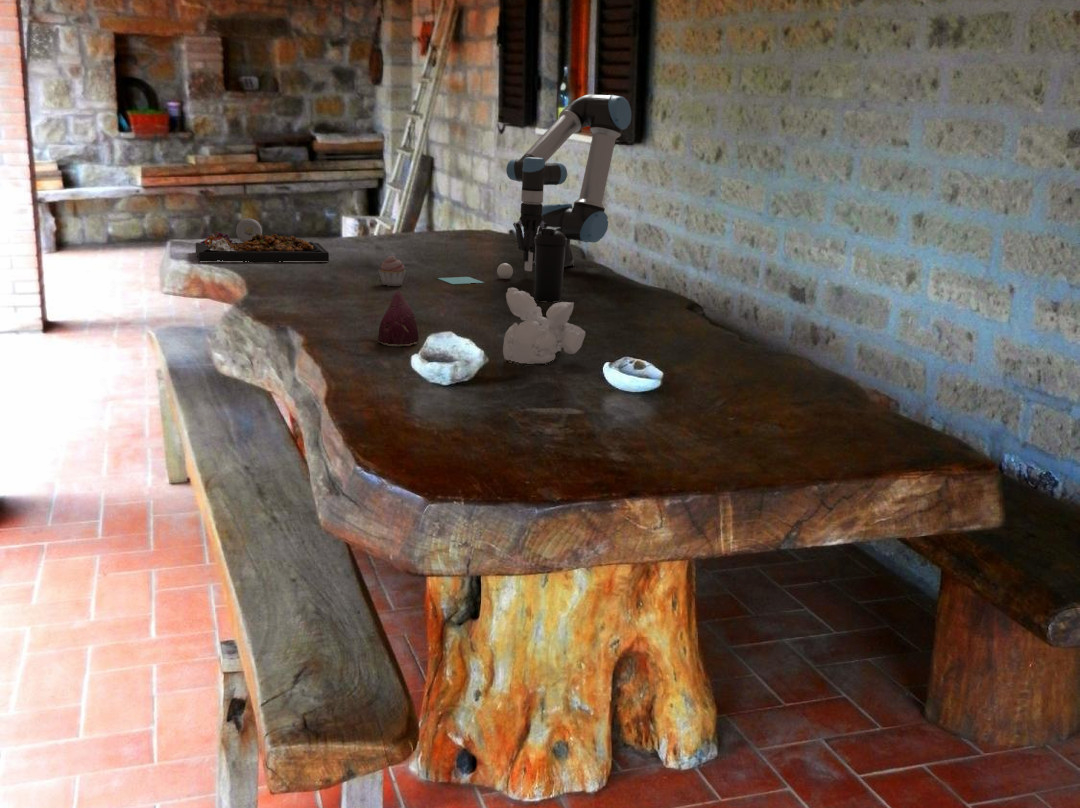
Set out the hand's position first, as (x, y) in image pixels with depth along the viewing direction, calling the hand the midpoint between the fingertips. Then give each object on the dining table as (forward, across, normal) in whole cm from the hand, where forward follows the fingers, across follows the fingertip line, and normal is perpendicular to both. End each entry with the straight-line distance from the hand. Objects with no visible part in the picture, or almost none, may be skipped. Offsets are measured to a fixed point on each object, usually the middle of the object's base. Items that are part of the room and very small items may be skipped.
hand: (528, 270), depth 403 cm
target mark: (+3, +26, 0) cm, 26 cm away
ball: (0, +9, 0) cm, 9 cm away
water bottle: (+3, +15, +40) cm, 43 cm away
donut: (+3, +70, -99) cm, 121 cm away
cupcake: (+3, +52, +2) cm, 52 cm away
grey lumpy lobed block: (+4, +57, +109) cm, 123 cm away
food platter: (+4, +76, -64) cm, 99 cm away
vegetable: (+4, +84, +82) cm, 118 cm away
